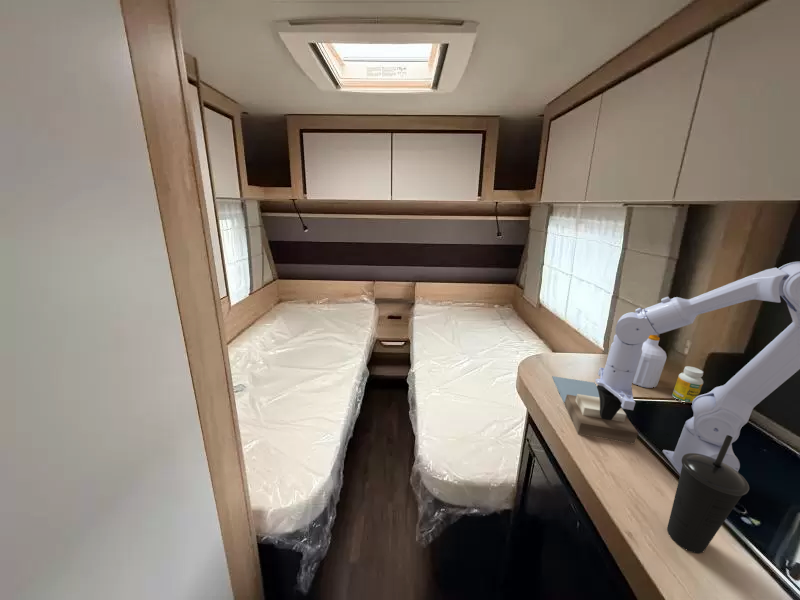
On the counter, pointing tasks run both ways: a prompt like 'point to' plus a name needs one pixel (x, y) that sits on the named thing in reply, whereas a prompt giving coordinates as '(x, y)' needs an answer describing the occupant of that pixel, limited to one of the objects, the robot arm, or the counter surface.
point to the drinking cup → (704, 498)
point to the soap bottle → (650, 363)
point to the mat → (575, 387)
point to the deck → (599, 424)
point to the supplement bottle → (688, 384)
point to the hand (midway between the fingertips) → (605, 417)
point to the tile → (595, 407)
